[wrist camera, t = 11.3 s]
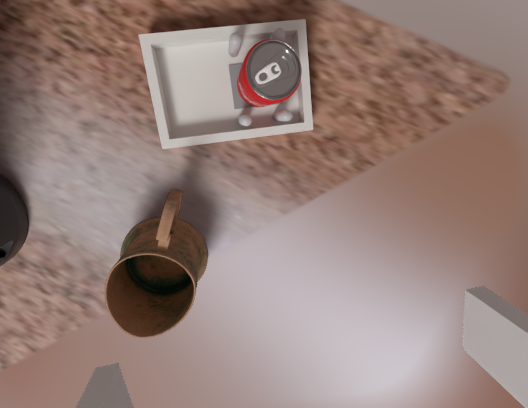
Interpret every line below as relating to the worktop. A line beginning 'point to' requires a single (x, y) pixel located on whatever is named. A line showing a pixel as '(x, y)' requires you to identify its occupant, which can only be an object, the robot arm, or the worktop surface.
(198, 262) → the mug
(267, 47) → the beverage can
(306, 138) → the worktop surface
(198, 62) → the tray
